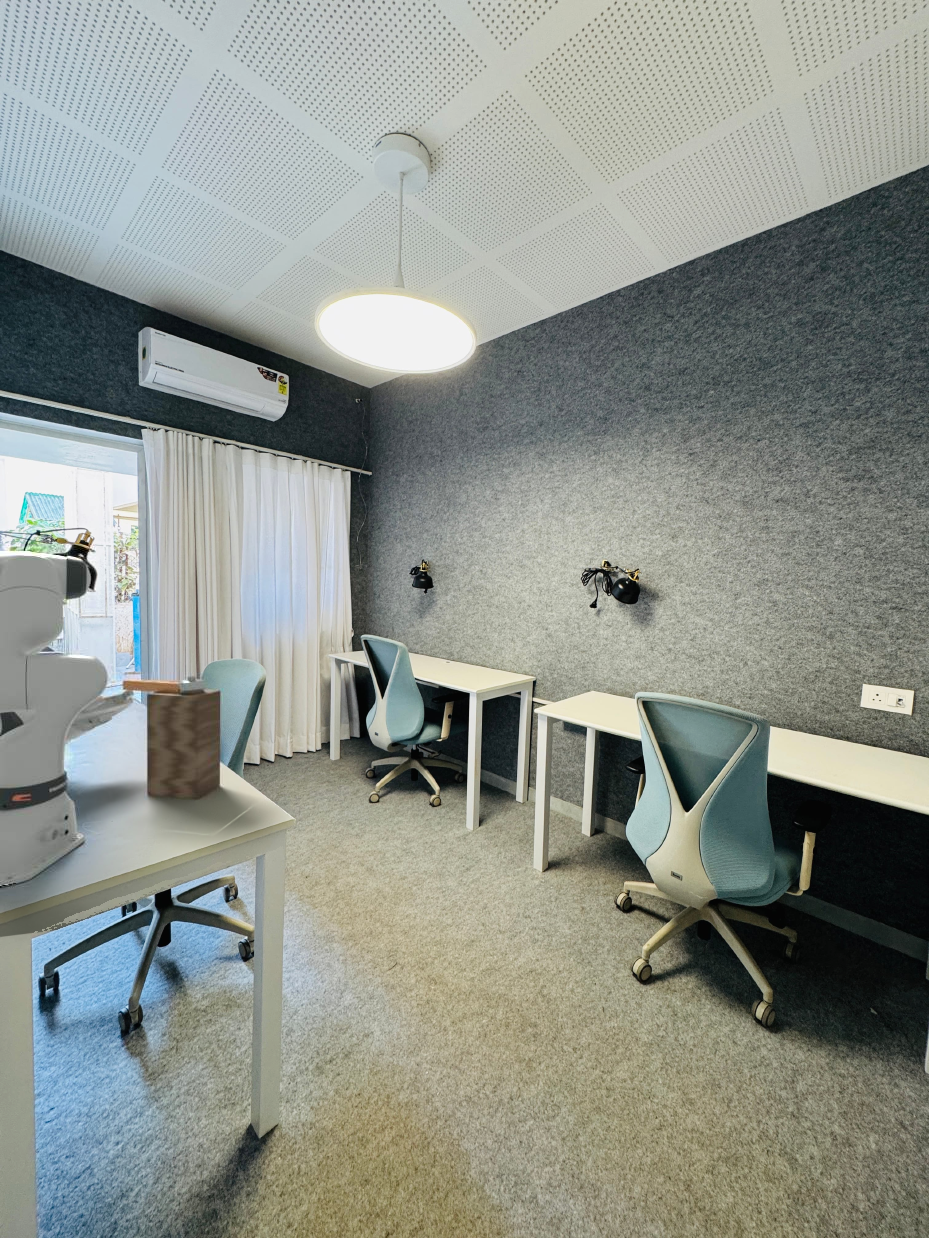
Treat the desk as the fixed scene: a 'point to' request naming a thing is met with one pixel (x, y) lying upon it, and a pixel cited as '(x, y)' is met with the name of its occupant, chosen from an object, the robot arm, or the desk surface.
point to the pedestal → (183, 744)
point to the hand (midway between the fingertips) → (116, 695)
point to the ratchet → (167, 686)
